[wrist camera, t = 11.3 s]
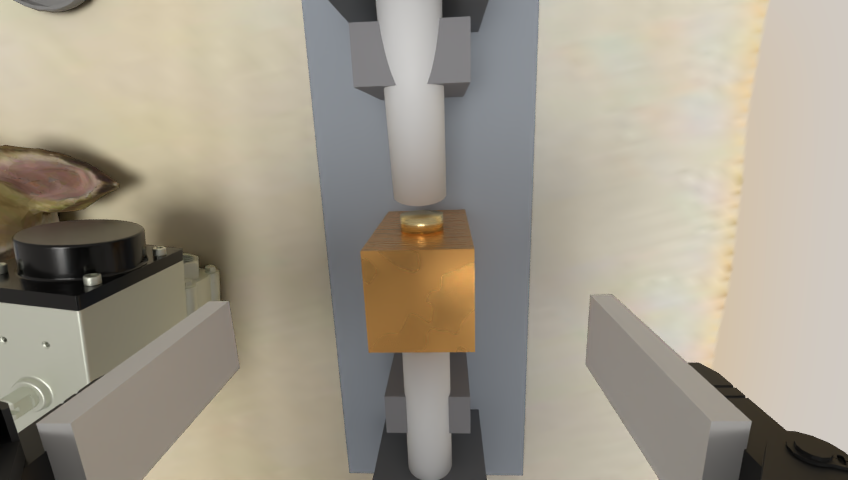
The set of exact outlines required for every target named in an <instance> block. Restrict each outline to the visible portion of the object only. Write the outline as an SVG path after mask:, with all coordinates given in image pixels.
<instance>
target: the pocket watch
mask: <svg viewBox="0 0 848 480" xmlns="http://www.w3.org/2000/svg"><path fill="white" fill-rule="evenodd" d="M14 1H16V2H18V3H20V4H22V5H24V6H27V7H29V8H32V9H35V10H38V11H49V12H61V11H67V10H69V9H72V8H75V7H77V6H78V5H80V4H81V3H83V2H84V1H85V0H14Z"/></svg>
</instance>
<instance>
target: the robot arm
mask: <svg viewBox="0 0 848 480" xmlns="http://www.w3.org/2000/svg"><path fill="white" fill-rule="evenodd" d="M586 366H587V367H588V369H589V371H590V372H591V374H592V375H593V377H594V378H595V380H596V382H597V383H598V385H599V386H600V388H601V389H602V391H603V392H604V394H605V396H606V397H607V399H608V400H609V402H610V403H611V405H612V406H613V408H614V410H615V411H616V413H617V414H618V416H619V417H620V419H621V421H622V422H623V424H624V425H625V427H626V428H627V430H628V431H629V433H630V435H631V436H632V438H633V439H634V441H635V442H636V444H637V445H638V447H639V449H640V450H641V452H642V453H643V455H644V456H645V458H646V460H647V461H648V463H649V464H650V466H651V467H652V469H653V470H654V472H655V474H656V475H657V477H658V478H659V480H848V455H847V454H846V453H845V452H843V451H842V450H840V449H838V448H837V447H835V446H833V445H832V444H830V443H828V442H826V441H823V440H821V439H818V438H816V437H814V436H810V435H807V434H803V433H799V432H795V431H786V430H785V429H784V428H783V427H782V426H780V425H779V424H778V423H777V422H776V421H775V420H773V419H772V418H771V417H770V416H768V415H767V414H766V413H765V412H764V411H763V410H762V409H760V408H759V407H758V406H757V405H756V404H754V403H753V402H752V401H751V400H750V399H749V398H745V395H744V394H743V393H741V392H740V391H739V390H738V389H737V388H733V385H732V384H731V383H730V382H728V381H727V380H726V379H725V378H724V377H723V376H721V375H720V374H719V373H717V372H715V371H714V370H712V369H710V368H708V367H706V366H704V365H702V364H700V363H687V362H686V361H685V360H684V359H683V358H682V357H681V356H679V355H678V354H677V353H676V352H675V351H674V350H673V349H672V348H671V347H670V346H668V345H667V344H666V343H665V342H664V341H663V340H662V339H661V338H660V337H659V336H658V335H656V334H655V333H654V332H653V331H652V330H651V329H650V328H649V327H648V326H647V325H645V324H644V323H643V322H642V321H641V320H640V319H639V318H638V317H637V316H636V315H634V314H633V313H632V312H631V311H630V310H629V309H628V308H627V307H626V306H625V305H623V304H622V303H621V302H620V301H619V300H618V299H617V298H616V297H615V296H614V295H612V294H604V295H590V306H589V321H588V335H587V349H586ZM239 368H240V366H239V359H238V353H237V347H236V341H235V335H234V329H233V322H232V316H231V310H230V304H229V301H209V302H207V303H206V304H204V305H203V306H202V307H200V308H199V309H197V310H196V311H195V312H193V313H192V314H190V315H189V316H187V317H186V318H185V319H183V320H182V321H180V322H179V323H178V324H176V325H175V326H173V327H172V328H170V329H169V330H168V331H166V332H165V333H163V334H162V335H161V336H159V337H158V338H156V339H155V340H154V341H152V342H151V343H149V344H148V345H146V346H145V347H144V348H142V349H141V350H139V351H138V352H137V353H135V354H134V355H132V356H131V357H129V358H128V359H127V360H125V361H124V362H122V363H121V364H120V365H118V366H117V367H115V368H114V369H113V370H111V371H110V372H108V373H107V374H105V375H103V376H101V377H99V378H97V379H95V380H93V381H92V382H90V383H89V384H87V385H86V386H85V387H83V388H82V389H80V390H79V391H78V393H77V394H73V395H72V396H70V397H69V398H67V399H66V400H65V401H64V403H63V404H59V405H57V406H56V407H54V408H53V409H52V410H50V411H49V412H47V413H46V414H44V415H43V416H42V417H40V418H39V419H37V420H36V421H34V422H33V423H32V424H30V425H29V426H27V427H26V428H24V429H23V430H22V431H20V432H19V433H18V432H17V429H16V426H15V423H14V420H13V417H12V414H11V411H10V408H9V405H8V403H6V402H2V401H0V480H142V479H143V478H144V477H145V476H146V475H147V474H148V472H149V471H150V470H151V469H152V468H153V467H154V466H155V464H156V463H157V462H158V461H159V460H160V459H161V457H162V456H163V455H164V454H165V453H166V452H167V451H168V449H169V448H170V447H171V446H172V445H173V444H174V443H175V441H176V440H177V439H178V438H179V437H180V436H181V435H182V433H183V432H184V431H185V430H186V429H187V428H188V426H189V425H190V424H191V423H192V422H193V421H194V420H195V418H196V417H197V416H198V415H199V414H200V413H201V412H202V410H203V409H204V408H205V407H206V406H207V405H208V404H209V402H210V401H211V400H212V399H213V398H214V397H215V396H216V394H217V393H218V392H219V391H220V390H221V389H222V387H223V386H224V385H225V384H226V383H227V382H228V381H229V379H230V378H231V377H232V376H233V375H234V374H235V373H236V371H237V370H238V369H239Z"/></svg>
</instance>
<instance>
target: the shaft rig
mask: <svg viewBox="0 0 848 480" xmlns="http://www.w3.org/2000/svg"><path fill="white" fill-rule="evenodd" d="M302 9H303V19H304V29H305V38H306V48H307V58H308V68H309V78H310V88H311V98H312V108H313V117H314V127H315V137H316V147H317V157H318V167H319V177H320V187H321V197H322V206H323V216H324V226H325V236H326V246H327V256H328V266H329V276H330V285H331V295H332V305H333V315H334V325H335V335H336V345H337V355H338V364H339V374H340V384H341V394H342V404H343V414H344V424H345V434H346V443H347V453H348V463H349V473H374V476H373V480H487V478H486V475H523V453H524V424H525V394H526V365H527V336H528V307H529V278H530V248H531V219H532V190H533V161H534V131H535V102H536V73H537V44H538V15H539V0H302ZM460 209H465V211H466V215H467V220H468V224H469V228H470V232H471V236H472V240H473V245H474V250H475V352H413V353H369V351H368V339H367V327H366V315H365V303H364V290H363V278H362V266H361V254H360V251H361V250H362V248H363V247H364V245H365V244H366V243H367V241H368V240H369V238H370V237H371V236H372V234H373V233H374V231H375V230H376V228H377V227H378V226H379V224H380V223H381V221H382V220H383V219H384V217H385V216H386V214H387V213H388V212H389V211H415V210H460Z"/></svg>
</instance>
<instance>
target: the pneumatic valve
mask: <svg viewBox="0 0 848 480" xmlns="http://www.w3.org/2000/svg"><path fill="white" fill-rule="evenodd" d="M12 243H13V248H14V253H15V258H12V259H9V260H5V261H2V262H0V401H2V402H6V403H8V405H9V408H10V411H11V414H12V417H13V420H14V423H15V426H16V429H17V432H18V433H19V432H20V431H22V430H23V429H24V428H26V427H27V426H29V425H30V424H32V423H33V422H34V421H36V420H37V419H39V418H40V417H42V416H43V415H44V414H46V413H47V412H49V411H50V410H52V409H53V408H54V407H56V406H57V405H59V404H63V403H64V401H65V400H66V399H67V398H69V397H70V396H72V395H73V394H77V393H78V391H79V390H80V389H82V388H83V387H85V386H86V385H87V384H89V383H90V382H92V381H93V380H95V379H97V378H99V377H101V376H103V375H105V374H107V373H108V372H110V371H111V370H113V369H114V368H115V367H117V366H118V365H120V364H121V363H122V362H124V361H125V360H127V359H128V358H129V357H131V356H132V355H134V354H135V353H137V352H138V351H139V350H141V349H142V348H144V347H145V346H146V345H148V344H149V343H151V342H152V341H154V340H155V339H156V338H158V337H159V336H161V335H162V334H163V333H165V332H166V331H168V330H169V329H170V328H172V327H173V326H175V325H176V324H178V323H179V322H180V321H182V320H183V319H185V318H186V317H187V316H189V315H190V314H192V313H193V312H195V311H196V310H197V309H199V308H200V307H202V306H203V305H204V304H206V303H207V302H209V301H220V275H219V270H218V269H216V268H215V265H206V266H205V269H202V268H199V257H198V256H196V255H193V254H183V250H182V248H173V247H164V246H154V245H146V241H145V230H144V228H143V227H142V226H141V225H139V224H136V223H133V222H128V221H120V220H73V221H62V222H54V223H48V224H42V225H37V226H33V227H29V228H26V229H23V230H21V231H19V232H17V233H15V234H14V235H13V237H12Z"/></svg>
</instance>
